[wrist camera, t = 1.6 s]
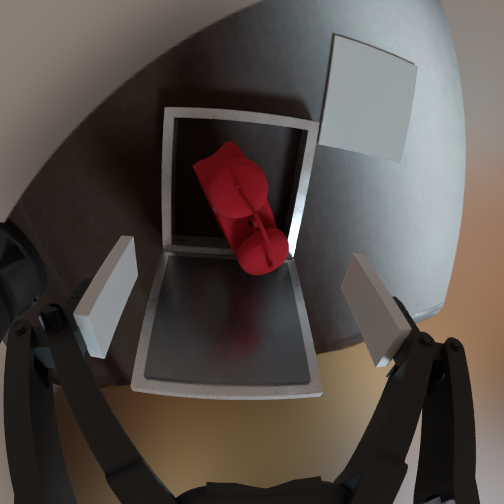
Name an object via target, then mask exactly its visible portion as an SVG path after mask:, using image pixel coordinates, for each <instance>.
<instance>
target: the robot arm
mask: <svg viewBox="0 0 504 504" xmlns="http://www.w3.org/2000/svg"><path fill="white" fill-rule="evenodd" d="M137 276H138V272H137V264H136V256H135V247H134V237H133V236H121V237H120V239H119V240H118V242H117V243H116V245H115V246H114V248H113V249H112V251H111V252H110V254H109V255H108V257H107V258H106V260H105V261H104V263H103V264H102V266H101V267H100V269H99V271H98V272H97V274H96V275H95V277H94V279H85V280H83V281H82V282H81V283H80V284H78V286H77V288H76V289H75V291H74V292H73V294H72V295H71V298H70V299H69V300H68V302H67V304H66V305H65V307H64V306H63V305H62V304H61V303H59V302H49V303H47V304H45V305H44V306H43V307H42V308H41V309H40V310H39V312H38V317H39V320H40V322H41V324H42V326H38V327H32V325H31V323H30V322H29V321H28V320H26V319H20V320H17V321H16V322H14V323H13V324H12V322H13V321H14V319H15V318H16V317H17V316H19V315H20V314H22V313H23V312H25V311H26V310H28V309H29V308H30V307H32V306H33V305H35V304H36V303H37V302H38V301H39V300H40V298H41V297H42V295H43V294H44V292H45V290H46V285H47V278H46V272H45V268H44V265H43V263H42V260H41V258H40V256H39V254H38V252H37V251H36V249H35V247H34V246H33V244H32V243H31V242H30V241H29V239H28V238H27V237H26V236H25V235H24V234H23V233H22V232H21V231H19V230H18V229H17V228H15V227H14V226H12V225H10V224H7V223H4V222H0V343H1V341H2V339H3V337H4V336H5V334H6V332H7V330H8V329H9V327H10V325H11V324H12V325H11V327H10V329H9V334H8V341H7V350H6V359H5V373H4V428H5V440H6V450H7V458H8V464H9V470H10V476H11V481H12V486H13V491H14V504H77V502H76V499H75V495H74V492H73V489H72V486H71V483H70V479H69V475H68V472H67V468H66V464H65V460H64V456H63V451H62V447H61V442H60V437H59V431H58V425H57V419H56V412H55V404H54V395H53V383H52V368H56V370H57V373H58V376H59V379H60V382H61V384H62V387H63V390H64V392H65V395H66V397H67V400H68V402H69V405H70V407H71V409H72V411H73V414H74V416H75V418H76V420H77V422H78V425H79V427H80V429H81V431H82V433H83V435H84V437H85V439H86V441H87V443H88V444H89V447H90V448H91V450H92V452H93V454H94V456H95V457H96V459H97V461H98V463H99V464H100V466H101V468H102V469H103V471H104V473H105V475H106V480H107V483H108V484H109V486H110V488H111V489H112V491H113V492H114V494H115V495H116V496H117V498H118V499H119V501H120V502H121V503H122V504H393V502H394V500H395V498H396V495H397V493H398V491H399V489H400V486H401V484H402V482H403V480H404V477H405V475H406V473H407V469H408V465H407V464H406V463H405V458H406V455H407V453H408V450H409V447H410V444H411V442H412V439H413V436H414V433H415V430H416V427H417V423H418V420H419V417H420V413H421V410H422V427H421V443H420V453H419V462H418V470H417V477H416V483H415V489H414V499H413V504H480V501H479V495H478V489H477V484H476V480H475V471H476V440H475V439H476V437H475V420H474V409H473V399H472V392H471V384H470V378H469V372H468V367H467V361H466V356H465V351H464V347H463V345H462V344H461V342H460V341H459V340H457V339H455V338H452V337H450V338H448V339H447V340H446V341H445V343H444V344H442V343H437V342H435V341H434V339H433V338H432V337H431V336H430V335H429V334H427V333H425V332H420V331H419V329H418V327H417V326H416V324H415V322H414V321H413V319H412V318H411V316H410V315H409V313H408V311H407V310H406V308H405V307H404V305H403V304H402V302H401V301H400V300H398V299H397V298H396V297H392V296H391V294H390V293H389V291H388V290H387V288H386V287H385V285H384V284H383V282H382V281H381V279H380V278H379V276H378V275H377V273H376V272H375V270H374V269H373V267H372V266H371V264H370V263H369V262H368V260H367V259H366V257H365V256H364V254H359V253H352V256H351V259H350V262H349V265H348V268H347V271H346V274H345V277H344V279H343V282H342V285H341V288H340V289H341V291H342V293H343V295H344V297H345V299H346V301H347V303H348V306H349V308H350V310H351V312H352V314H353V316H354V319H355V321H356V323H357V325H358V327H359V330H360V332H361V334H362V336H363V339H364V341H365V343H366V345H367V348H368V350H369V352H370V355H371V357H372V359H373V362H374V364H375V367H382V366H387V365H388V364H389V363H390V362H391V360H392V359H394V361H395V365H394V366H393V368H392V369H391V370H390V372H389V373H388V374H387V376H386V377H388V376H389V378H388V381H387V383H386V386H385V388H384V391H383V393H382V395H381V398H380V400H379V403H378V405H377V407H376V409H375V412H374V414H373V416H372V418H371V420H370V423H369V425H368V426H367V428H366V431H365V433H364V434H363V436H362V438H361V441H360V442H359V444H358V446H357V448H356V450H355V452H354V453H353V455H352V457H351V459H350V461H349V462H348V464H347V466H346V467H345V469H344V470H343V472H342V473H341V474H340V475H339V476H338V477H337V478H336V479H335V481H334V482H333V483H331V482H327V481H321V477H320V476H318V477H312V478H305V479H297V480H292V481H290V482H286V483H283V484H280V485H277V486H274V487H270V488H265V489H264V488H258V487H252V486H248V485H243V484H237V483H214V482H212V483H211V482H206V486H202V487H198V488H194V489H191V490H189V491H187V492H184V493H183V494H181V495H179V496H178V497H177V498H175V497H174V495H173V494H172V493H171V492H170V491H169V490H168V488H167V487H166V486H165V485H164V484H163V483H162V481H161V480H160V479H159V478H158V477H157V476H156V474H155V473H154V472H153V470H152V469H151V468H150V466H149V465H148V464H147V462H146V461H145V460H144V458H143V457H142V455H141V454H140V453H139V451H138V450H137V449H136V447H135V445H134V444H133V442H132V441H131V439H130V438H129V436H128V435H127V433H126V432H125V430H124V429H123V427H122V425H121V424H120V422H119V420H118V419H117V417H116V416H115V414H114V412H113V410H112V409H111V407H110V405H109V403H108V402H107V400H106V398H105V396H104V395H103V392H102V390H101V388H100V386H99V384H98V382H97V380H96V378H95V376H94V374H93V372H92V370H91V368H90V366H89V364H88V362H87V359H86V357H85V352H86V350H87V349H88V351H89V354H90V356H93V357H98V358H103V359H105V356H106V353H107V351H108V348H109V345H110V342H111V340H112V337H113V334H114V332H115V329H116V327H117V324H118V321H119V319H120V316H121V314H122V311H123V309H124V307H125V304H126V302H127V299H128V297H129V295H130V292H131V290H132V288H133V285H134V283H135V281H136V279H137Z"/></svg>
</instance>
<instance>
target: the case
mask: <svg viewBox="0 0 504 504" xmlns="http://www.w3.org/2000/svg"><path fill="white" fill-rule="evenodd" d="M179 118H206V119H222V120H235V121H245V122H255V123H263V124H271V125H279V126H286V127H292V128H298V129H302V133H301V139H300V145H299V151H298V157H297V163H296V169H295V174H294V180H293V186H292V191H291V197H290V202H289V208H288V213H287V218H286V224H285V229H284V235H285V236H286V238H287V240H288V243H289V253H288V256H287V258H286V260H294V258H293V255H294V250H295V246H296V241H297V237H298V232H299V227H300V223H301V218H302V213H303V208H304V204H305V199H306V194H307V189H308V184H309V179H310V173H311V168H312V163H313V157H314V152H315V146H316V141H317V135H318V129H319V123H320V122H316V121H313V120H307V119H302V118H296V117H290V116H284V115H277V114H269V113H262V112H253V111H244V110H233V109H220V108H202V107H165V111H164V126H163V148H162V234H163V250H162V252H176V253H191V254H206V255H221V256H235V255H234V253H233V251H232V249H231V247H230V246H229V244H228V242H227V240H226V238H217V237H202V236H187V235H175V180H176V153H177V134H178V120H179ZM236 257H237V256H236Z"/></svg>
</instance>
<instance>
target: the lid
mask: <svg viewBox="0 0 504 504" xmlns="http://www.w3.org/2000/svg"><path fill="white" fill-rule="evenodd" d="M131 388H132V390H133V391H139V392H145V393H152V394H160V395H169V396H178V397H191V398H205V399H229V400H267V399H291V398H305V397H317V396H320V395H321V394H322V393H323V389H322V384H321V379H320V374H319V369H318V364H317V359H316V354H315V349H314V345H313V340H312V335H311V331H310V326H309V321H308V317H307V312H306V308H305V304H304V299H303V295H302V291H301V286H300V282H299V278H298V274H297V270H296V266H295V261H294V260H285V261H284V262H283V263H282V264H281V265H280V266H279V267H278V268H276V269H275V270H273V271H271V272H269V273H266V274H263V275H251V274H249V273H247V272H245V271H244V270H243V269H242V267H241V266H240V264H239V262H238V260H237V257H236V256H221V255H206V254H191V253H176V252H162V253H161V256H160V260H159V263H158V267H157V271H156V274H155V278H154V282H153V285H152V289H151V293H150V297H149V301H148V305H147V309H146V313H145V318H144V322H143V326H142V331H141V336H140V340H139V345H138V350H137V355H136V360H135V365H134V371H133V376H132V382H131Z"/></svg>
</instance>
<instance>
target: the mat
mask: <svg viewBox="0 0 504 504" xmlns="http://www.w3.org/2000/svg"><path fill="white" fill-rule="evenodd" d="M416 76H417V66H415V65H413V64H411V63H409V62H406V61H404V60H402V59H400V58H397V57H395V56H393V55H390V54H388V53H385V52H383V51H380V50H378V49H375V48H373V47H370V46H367V45H364V44H361V43H359V42H356V41H352V40H349V39H346V38H343V37H340V36H336V35H335V36H334V40H333V48H332V56H331V63H330V70H329V77H328V84H327V91H326V97H325V104H324V110H323V116H322V122H321V128H320V133H319V139H318V144H319V145H325V146H330V147H335V148H340V149H345V150H350V151H354V152H359V153H363V154H367V155H371V156H375V157H379V158H383V159H387V160H391V161H395V162H398V163H400V162H401V158H402V154H403V149H404V145H405V140H406V135H407V131H408V126H409V120H410V115H411V109H412V103H413V97H414V90H415V83H416Z"/></svg>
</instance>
